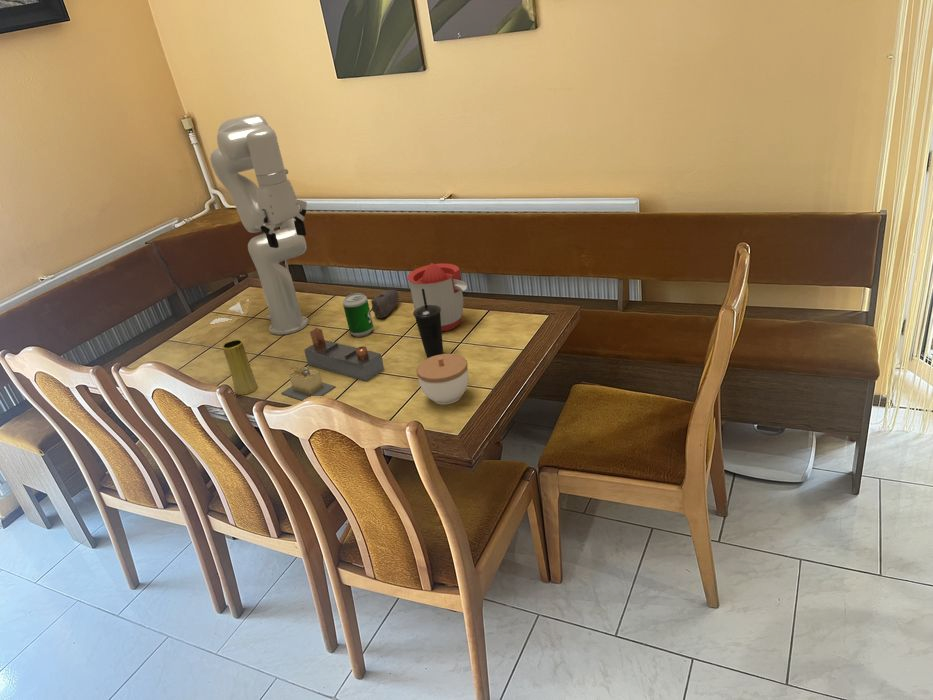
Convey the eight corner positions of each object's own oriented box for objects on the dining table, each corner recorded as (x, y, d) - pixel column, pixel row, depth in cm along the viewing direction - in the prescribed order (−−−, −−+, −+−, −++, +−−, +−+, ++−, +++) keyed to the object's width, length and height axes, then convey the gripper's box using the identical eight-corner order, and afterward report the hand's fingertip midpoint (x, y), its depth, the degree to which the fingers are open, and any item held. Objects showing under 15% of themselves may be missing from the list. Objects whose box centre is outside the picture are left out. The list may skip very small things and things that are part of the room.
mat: (281, 394, 195) (281, 392, 195) (306, 378, 201) (305, 377, 201) (310, 403, 188) (310, 402, 188) (335, 387, 194) (335, 386, 194)
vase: (238, 385, 203) (223, 340, 197) (259, 382, 203) (245, 337, 197) (233, 396, 198) (218, 350, 191) (255, 393, 198) (241, 346, 191)
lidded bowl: (414, 408, 178) (406, 369, 173) (434, 383, 188) (427, 345, 183) (461, 412, 173) (454, 372, 168) (479, 386, 184) (473, 347, 179)
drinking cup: (452, 348, 205) (441, 283, 196) (442, 361, 198) (430, 295, 189) (427, 348, 207) (415, 283, 198) (417, 360, 201) (404, 295, 192)
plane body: (308, 365, 209) (299, 334, 204) (325, 354, 213) (317, 324, 209) (366, 381, 195) (359, 348, 190) (384, 369, 199) (377, 337, 195)
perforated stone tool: (392, 301, 243) (388, 282, 240) (406, 302, 241) (402, 283, 238) (369, 321, 231) (365, 301, 228) (383, 322, 229) (379, 302, 226)
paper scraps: (216, 335, 240) (214, 329, 239) (190, 331, 247) (188, 325, 246) (272, 304, 259) (270, 298, 258) (246, 300, 266) (244, 295, 265)
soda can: (369, 337, 220) (361, 301, 214) (346, 338, 222) (338, 302, 216) (377, 326, 226) (369, 291, 221) (355, 327, 228) (346, 292, 223)
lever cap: (293, 390, 195) (288, 372, 192) (306, 382, 198) (301, 364, 195) (310, 396, 191) (305, 377, 188) (323, 387, 194) (318, 368, 192)
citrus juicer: (462, 337, 211) (452, 273, 202) (408, 335, 217) (396, 273, 208) (479, 314, 224) (470, 253, 215) (428, 313, 230) (418, 254, 221)
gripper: (288, 169, 196) (303, 229, 204) (236, 187, 184) (254, 250, 192) (306, 170, 191) (321, 231, 199) (254, 188, 180) (272, 253, 188)
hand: (288, 241), depth 196 cm, fingers open, 9 cm apart
